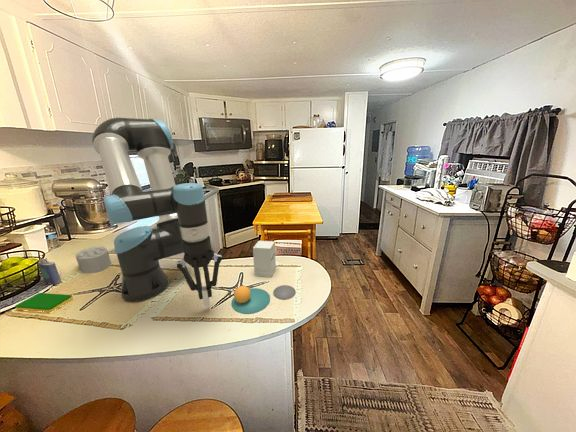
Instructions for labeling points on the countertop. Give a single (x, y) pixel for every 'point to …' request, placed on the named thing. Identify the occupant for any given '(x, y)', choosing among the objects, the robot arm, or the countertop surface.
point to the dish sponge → (44, 302)
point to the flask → (49, 271)
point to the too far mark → (284, 292)
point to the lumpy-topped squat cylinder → (93, 259)
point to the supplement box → (264, 258)
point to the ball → (242, 294)
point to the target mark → (252, 302)
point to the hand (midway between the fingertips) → (207, 305)
